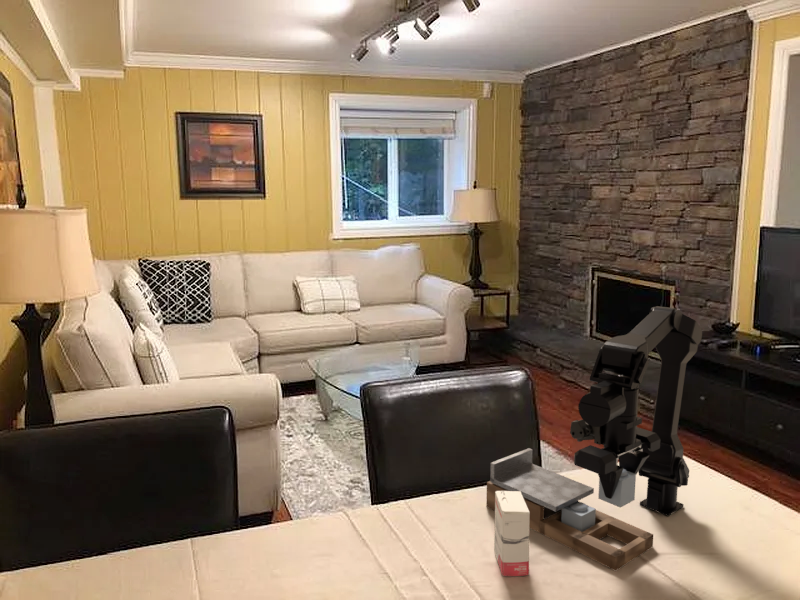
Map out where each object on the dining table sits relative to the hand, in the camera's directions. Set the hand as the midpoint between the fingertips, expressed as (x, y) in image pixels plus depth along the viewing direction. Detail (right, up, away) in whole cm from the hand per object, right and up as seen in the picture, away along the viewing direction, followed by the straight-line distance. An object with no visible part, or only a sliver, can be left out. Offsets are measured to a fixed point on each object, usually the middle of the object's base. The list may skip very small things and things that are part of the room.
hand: (616, 493), depth 119 cm
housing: (-7, -9, +10) cm, 15 cm away
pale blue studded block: (-5, -10, +8) cm, 13 cm away
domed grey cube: (0, -1, 0) cm, 1 cm away
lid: (-11, -3, +14) cm, 18 cm away
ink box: (-20, -12, -3) cm, 23 cm away
